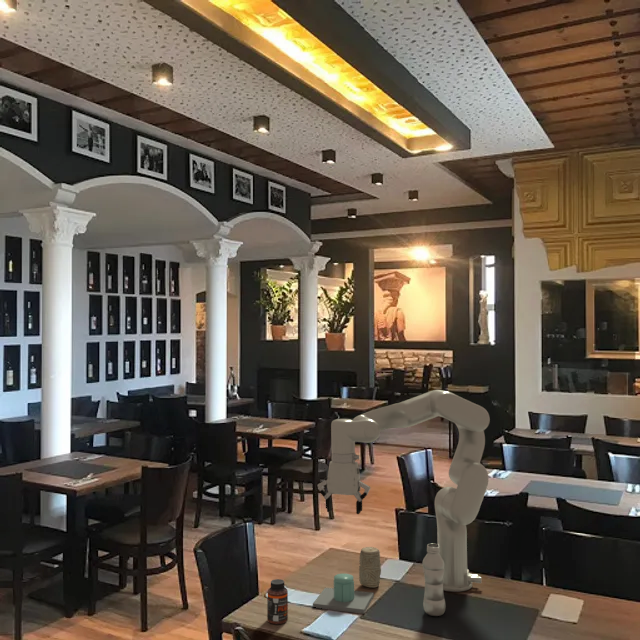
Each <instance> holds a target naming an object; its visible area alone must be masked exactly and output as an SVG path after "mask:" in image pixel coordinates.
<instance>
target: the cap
mask: <svg viewBox="0 0 640 640" xmlns="http://www.w3.org/2000/svg"><path fill="white" fill-rule="evenodd" d="M333 588H334V599H335V600H336V601H340V602H350V601H352V600H353V599H354V591H355V581H354V575H352V574H349V573H337V574H335V575H334V576H333Z"/></svg>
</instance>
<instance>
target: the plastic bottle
mask: <svg viewBox="0 0 640 640" xmlns="http://www.w3.org/2000/svg"><path fill="white" fill-rule="evenodd" d="M439 553H440V546H439V545H438V543H428V544H427V545H426V555H425V556H424V557H423V560H422V570H423V575H424V595H423V596H424V597H423V601H422V602H423V603H422V605H423V611H424V612H425V613H426V614H427V615H429V616H433V617H438V616H439V617H441V616H442V615H444V613H445V611H446V607H447V606H446V599H445V595H444V594H445V593H444V590H443V574H444V561H443V559H442V557H441V556H440V555H439Z"/></svg>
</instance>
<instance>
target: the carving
mask: <svg viewBox="0 0 640 640" xmlns="http://www.w3.org/2000/svg"><path fill="white" fill-rule="evenodd" d="M380 553H381V551H380V549H379V548H378V547H373V546H365V547H363V548H361V550H360V552H359V569H358V578H359V583H360V585H362V586H364V587H367V588H377V587H379V586H380V582H381V574H382V566H381V564H382V562H381V554H380Z"/></svg>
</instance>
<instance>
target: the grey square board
mask: <svg viewBox="0 0 640 640" xmlns="http://www.w3.org/2000/svg"><path fill="white" fill-rule="evenodd" d="M374 593H375V592H370V591H359V590H354V599H353V600H352V601H350V602H340V601H336V600H335V599H334V587H333V588H332V587H324V589H323V590H322V591H321V592H320V594H318V596H317V597H316V598H315V600H314V601H313V603H312V608H313V607H316V608H315V609H321V608H322V609H323V610H332V611H340V612H347V613H354V614H355V613H356V614H365V612H366V611H367V610H368V608H369V606H370V604H371V602H372V601H373V599H374V597H375V596H374V595H375V594H374Z"/></svg>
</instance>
